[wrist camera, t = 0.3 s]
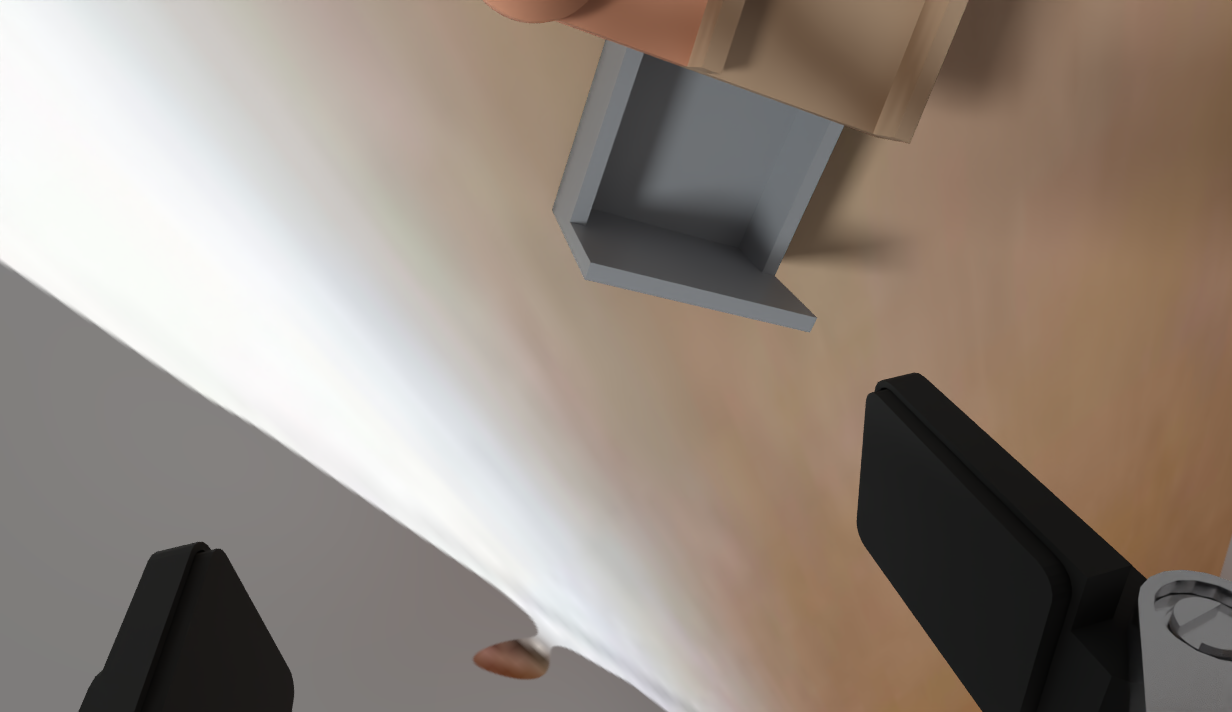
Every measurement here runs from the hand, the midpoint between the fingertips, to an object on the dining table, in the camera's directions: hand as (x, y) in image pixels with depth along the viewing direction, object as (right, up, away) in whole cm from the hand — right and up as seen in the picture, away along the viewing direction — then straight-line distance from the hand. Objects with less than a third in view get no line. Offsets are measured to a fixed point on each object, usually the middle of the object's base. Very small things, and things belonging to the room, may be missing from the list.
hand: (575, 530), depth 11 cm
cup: (+4, +14, +28) cm, 32 cm away
